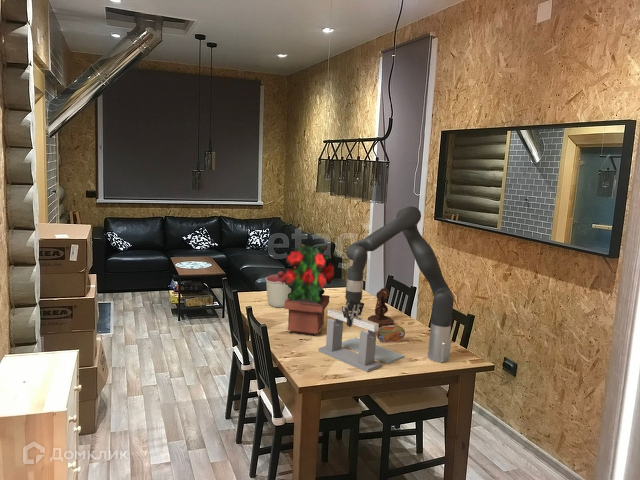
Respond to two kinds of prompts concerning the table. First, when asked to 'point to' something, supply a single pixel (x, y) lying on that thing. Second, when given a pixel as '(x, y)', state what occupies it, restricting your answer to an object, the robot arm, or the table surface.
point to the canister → (277, 290)
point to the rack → (357, 360)
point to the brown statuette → (381, 309)
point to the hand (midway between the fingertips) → (351, 325)
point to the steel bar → (354, 320)
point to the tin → (390, 334)
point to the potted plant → (307, 288)
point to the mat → (380, 352)
